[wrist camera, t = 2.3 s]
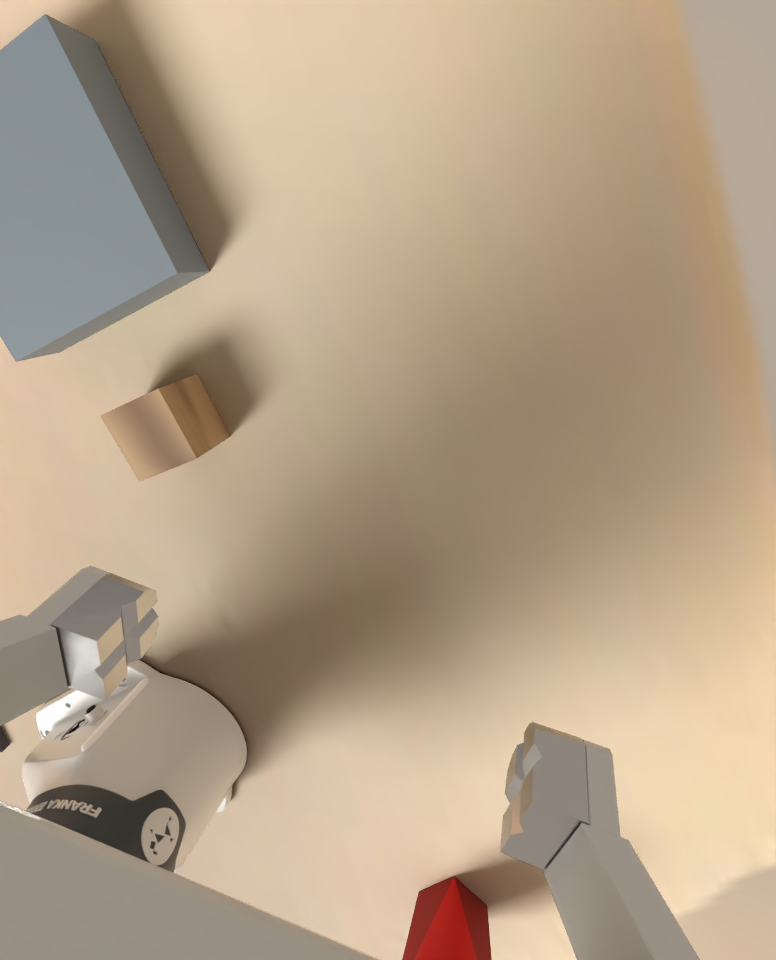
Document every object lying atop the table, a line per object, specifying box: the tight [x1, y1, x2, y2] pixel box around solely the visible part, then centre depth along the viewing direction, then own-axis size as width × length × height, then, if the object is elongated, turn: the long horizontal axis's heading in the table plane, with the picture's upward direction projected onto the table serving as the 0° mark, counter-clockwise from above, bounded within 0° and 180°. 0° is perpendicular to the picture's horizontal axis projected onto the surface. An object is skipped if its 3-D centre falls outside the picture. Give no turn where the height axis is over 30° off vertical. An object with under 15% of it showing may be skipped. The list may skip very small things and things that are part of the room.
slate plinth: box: [0, 14, 210, 361], centre depth 35 cm, size 14×14×4 cm
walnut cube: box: [101, 374, 230, 482], centre depth 39 cm, size 5×5×5 cm
